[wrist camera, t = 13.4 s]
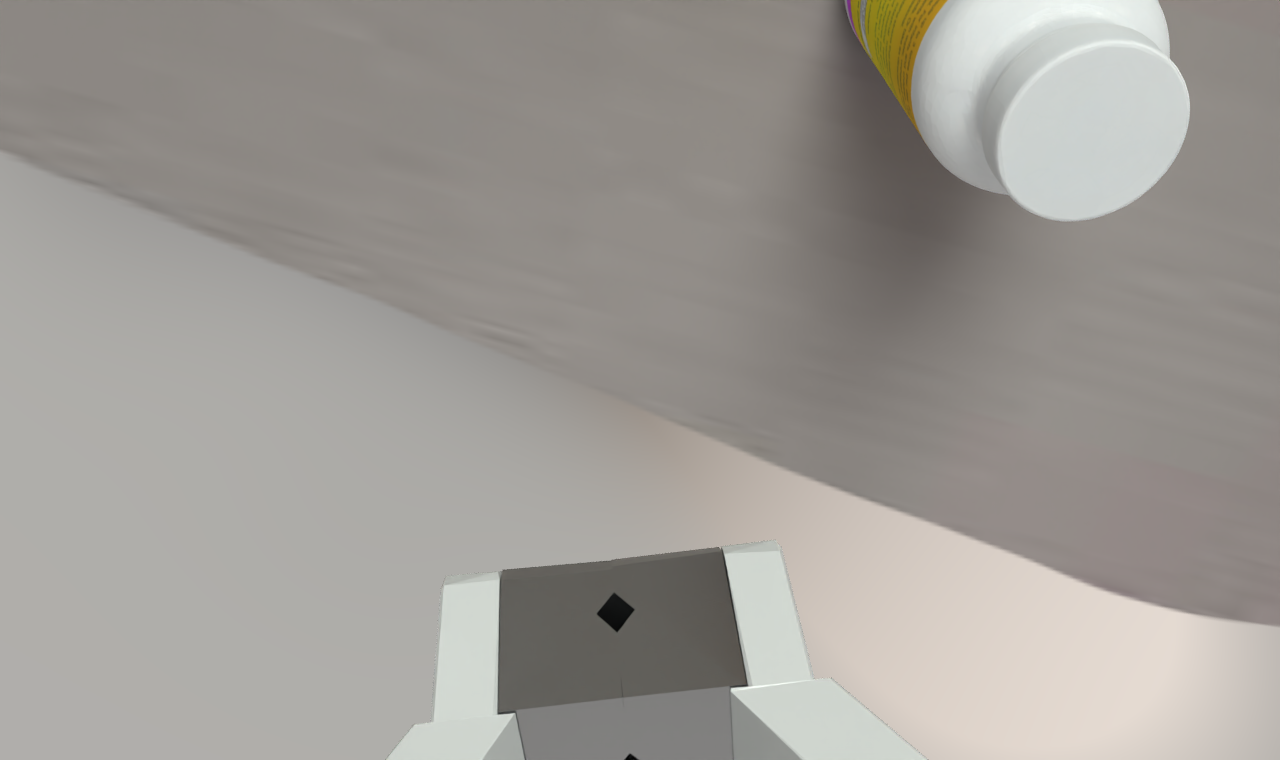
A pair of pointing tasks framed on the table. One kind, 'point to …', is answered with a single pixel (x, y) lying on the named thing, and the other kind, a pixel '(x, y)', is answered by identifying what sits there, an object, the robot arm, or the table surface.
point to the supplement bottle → (1035, 94)
